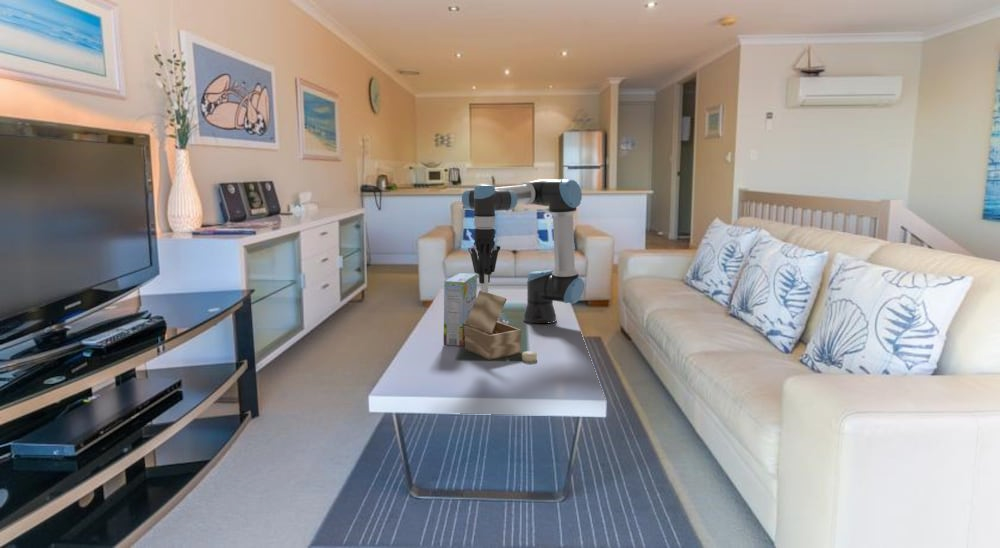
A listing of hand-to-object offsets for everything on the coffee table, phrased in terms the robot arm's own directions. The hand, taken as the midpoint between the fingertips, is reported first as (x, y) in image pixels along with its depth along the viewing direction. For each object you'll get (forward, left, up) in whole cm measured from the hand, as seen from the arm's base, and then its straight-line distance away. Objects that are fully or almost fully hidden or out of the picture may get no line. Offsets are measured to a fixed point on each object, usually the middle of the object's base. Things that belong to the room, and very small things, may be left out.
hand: (484, 291), depth 210 cm
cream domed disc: (-9, +16, -24) cm, 30 cm away
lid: (-1, 0, -8) cm, 8 cm away
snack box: (-3, -21, -24) cm, 32 cm away
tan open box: (-4, 0, -23) cm, 24 cm away
